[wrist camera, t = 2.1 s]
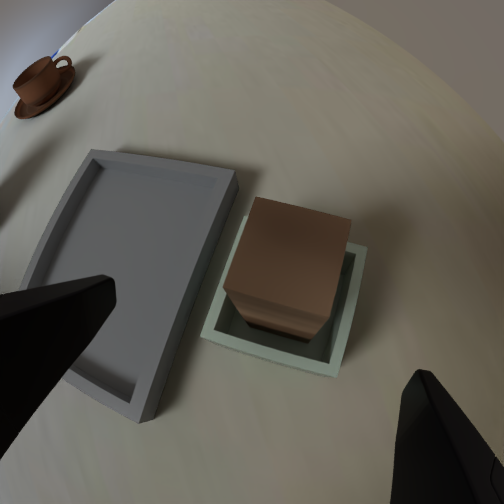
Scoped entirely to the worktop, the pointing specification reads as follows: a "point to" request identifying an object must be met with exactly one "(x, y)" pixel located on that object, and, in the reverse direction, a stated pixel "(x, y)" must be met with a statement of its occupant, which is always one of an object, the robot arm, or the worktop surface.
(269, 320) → the square block
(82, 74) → the worktop surface
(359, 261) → the mint green open box
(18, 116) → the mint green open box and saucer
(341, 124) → the worktop surface
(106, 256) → the tray
